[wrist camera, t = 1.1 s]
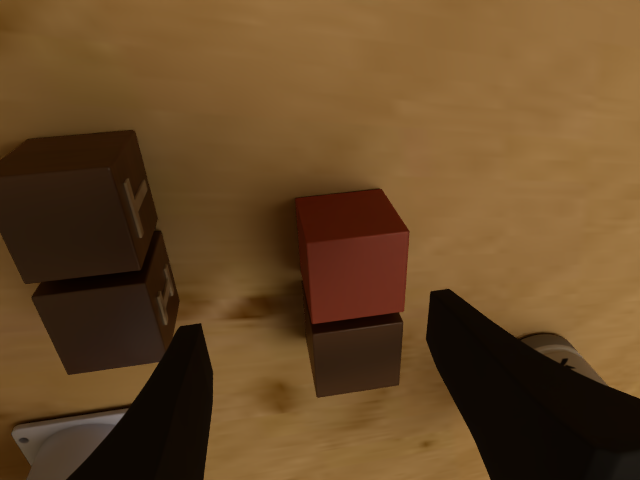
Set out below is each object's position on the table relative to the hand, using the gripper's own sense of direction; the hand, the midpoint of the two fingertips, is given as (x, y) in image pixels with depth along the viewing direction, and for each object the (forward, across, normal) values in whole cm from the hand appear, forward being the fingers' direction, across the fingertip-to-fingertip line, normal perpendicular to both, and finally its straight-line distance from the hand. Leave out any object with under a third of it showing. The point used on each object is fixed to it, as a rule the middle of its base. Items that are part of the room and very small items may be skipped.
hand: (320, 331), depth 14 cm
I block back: (+10, -2, +7) cm, 12 cm away
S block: (+10, -2, +2) cm, 10 cm away
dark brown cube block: (+10, +9, +3) cm, 13 cm away
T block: (+10, +9, -2) cm, 13 cm away
